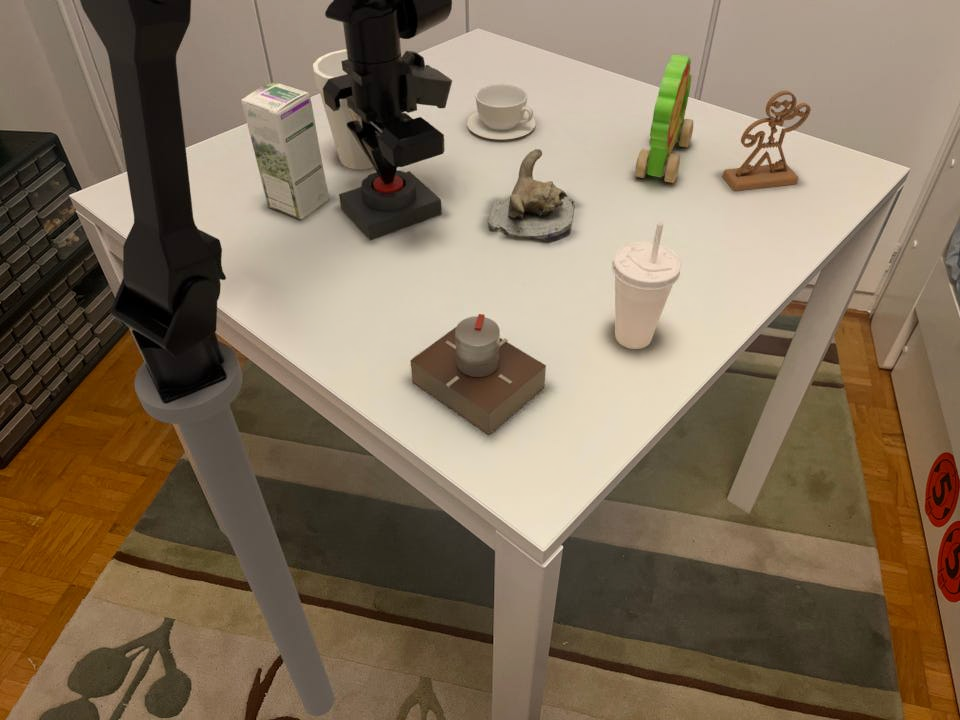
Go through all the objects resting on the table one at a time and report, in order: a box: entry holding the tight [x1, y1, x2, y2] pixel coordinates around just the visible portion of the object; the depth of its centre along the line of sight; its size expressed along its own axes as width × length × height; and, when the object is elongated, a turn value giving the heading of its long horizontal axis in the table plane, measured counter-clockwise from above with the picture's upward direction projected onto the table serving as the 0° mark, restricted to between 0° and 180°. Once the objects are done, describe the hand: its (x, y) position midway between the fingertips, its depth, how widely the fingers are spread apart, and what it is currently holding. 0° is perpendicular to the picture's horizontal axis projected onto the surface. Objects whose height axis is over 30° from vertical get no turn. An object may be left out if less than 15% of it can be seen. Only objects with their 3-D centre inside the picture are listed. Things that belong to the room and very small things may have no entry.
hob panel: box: [409, 326, 547, 435], centre depth 71 cm, size 10×8×3 cm
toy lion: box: [634, 54, 694, 184], centre depth 96 cm, size 16×5×15 cm, turn 158°
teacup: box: [466, 83, 536, 140], centre depth 107 cm, size 10×10×5 cm
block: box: [338, 169, 443, 241], centre depth 92 cm, size 10×8×4 cm
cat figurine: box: [487, 148, 575, 244], centre depth 91 cm, size 10×12×6 cm
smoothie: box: [611, 221, 682, 350], centre depth 72 cm, size 6×6×14 cm
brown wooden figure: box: [722, 90, 811, 192], centre depth 94 cm, size 9×4×12 cm, turn 101°
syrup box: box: [240, 81, 330, 220], centre depth 90 cm, size 6×6×14 cm
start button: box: [373, 175, 404, 193], centre depth 91 cm, size 4×4×2 cm
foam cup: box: [312, 48, 374, 170], centre depth 98 cm, size 10×9×13 cm
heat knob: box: [455, 313, 501, 377], centre depth 68 cm, size 4×4×4 cm
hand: (387, 182), depth 90 cm, fingers closed, pressing on start button
